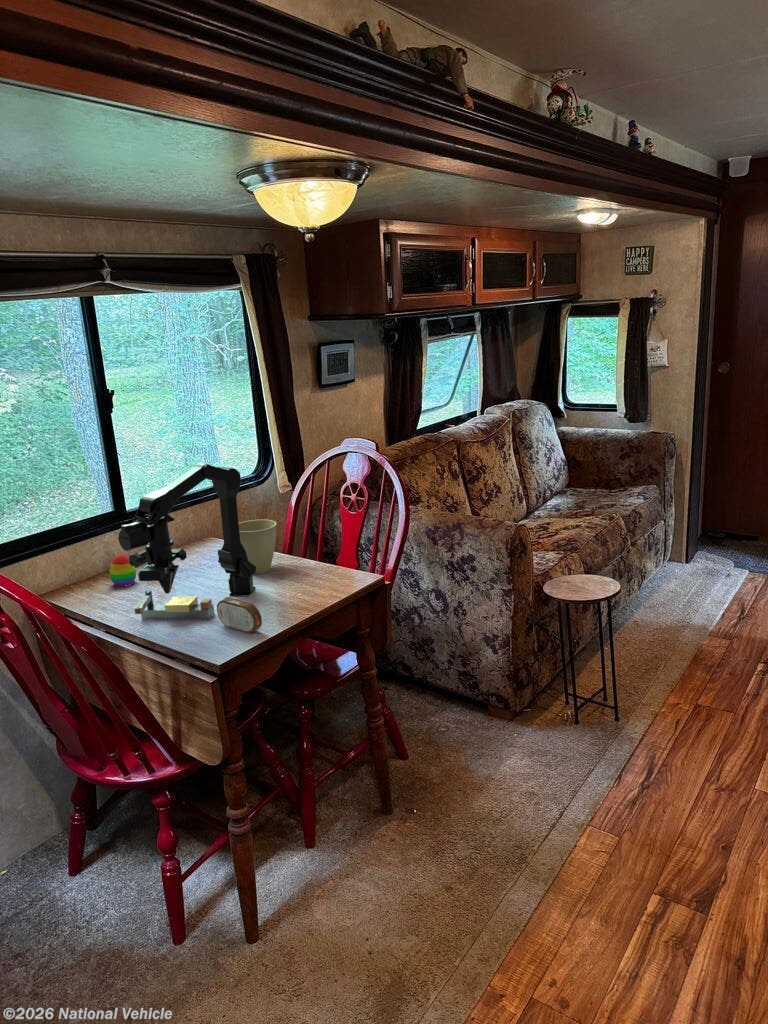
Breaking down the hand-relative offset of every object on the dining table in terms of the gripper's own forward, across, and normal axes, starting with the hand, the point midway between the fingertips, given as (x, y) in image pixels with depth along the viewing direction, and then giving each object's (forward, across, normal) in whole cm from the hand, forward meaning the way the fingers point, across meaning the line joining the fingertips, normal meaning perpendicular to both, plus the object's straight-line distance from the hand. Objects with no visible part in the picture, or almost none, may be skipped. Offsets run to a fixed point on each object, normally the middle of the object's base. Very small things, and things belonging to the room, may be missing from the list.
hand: (167, 593), depth 197 cm
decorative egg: (+9, -30, -30) cm, 43 cm away
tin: (+9, +5, +22) cm, 24 cm away
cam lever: (+5, +2, -7) cm, 9 cm away
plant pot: (+10, -42, +12) cm, 45 cm away
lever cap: (+6, -3, +2) cm, 7 cm away
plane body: (+9, -3, 0) cm, 9 cm away
